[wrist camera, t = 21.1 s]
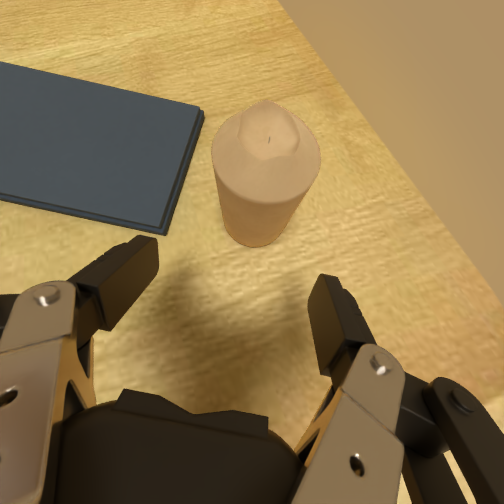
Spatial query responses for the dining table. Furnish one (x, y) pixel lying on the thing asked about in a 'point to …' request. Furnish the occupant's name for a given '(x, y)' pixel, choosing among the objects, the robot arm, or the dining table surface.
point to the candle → (263, 170)
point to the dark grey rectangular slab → (93, 148)
